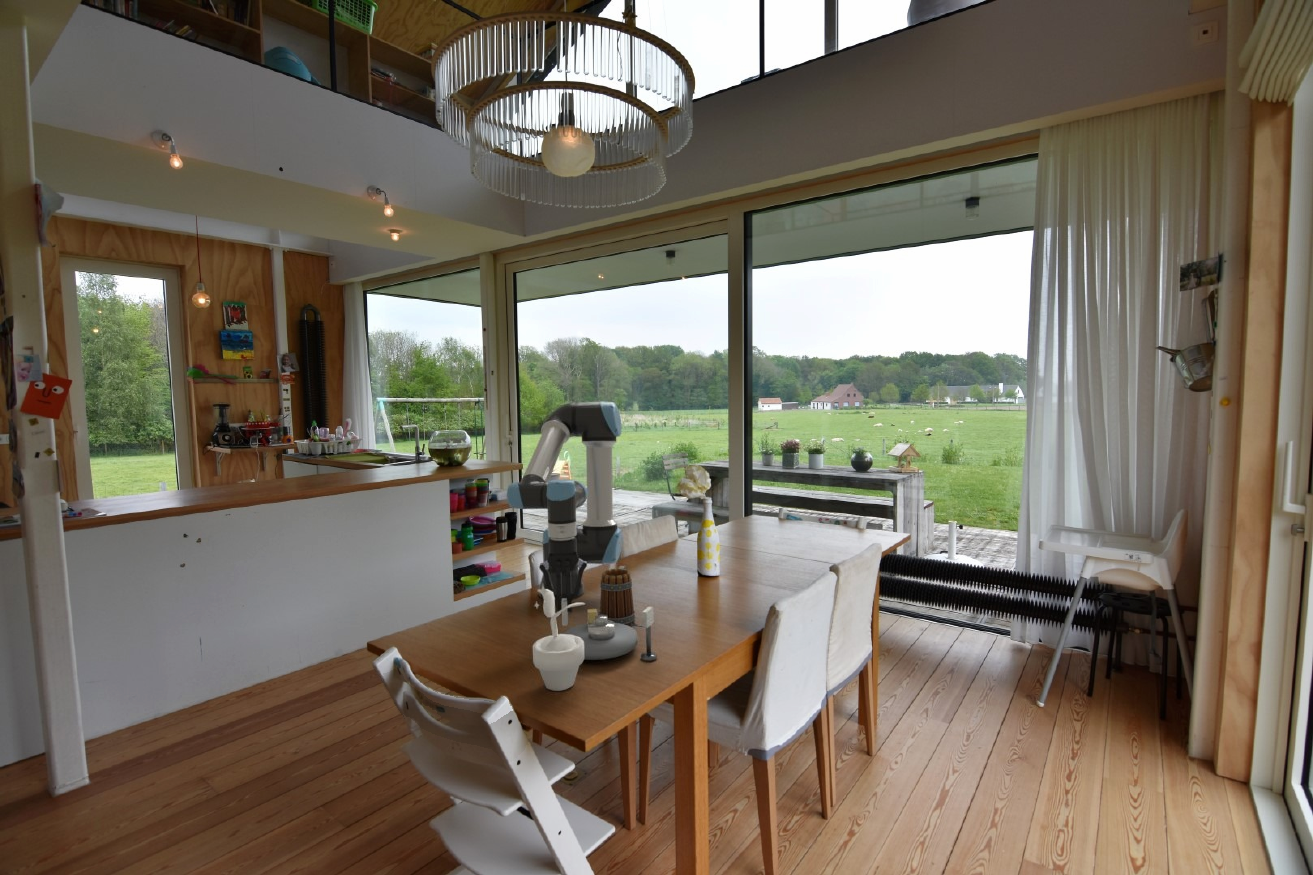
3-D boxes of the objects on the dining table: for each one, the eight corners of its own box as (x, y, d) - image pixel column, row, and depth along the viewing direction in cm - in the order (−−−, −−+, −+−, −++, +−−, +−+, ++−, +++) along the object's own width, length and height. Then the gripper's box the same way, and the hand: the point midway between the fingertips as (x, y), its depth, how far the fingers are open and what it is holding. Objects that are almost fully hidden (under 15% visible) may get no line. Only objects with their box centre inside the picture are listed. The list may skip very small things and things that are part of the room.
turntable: (555, 634, 166) (554, 612, 166) (627, 625, 172) (626, 604, 171) (565, 664, 147) (564, 640, 146) (646, 653, 152) (645, 629, 152)
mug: (630, 630, 173) (629, 578, 172) (594, 628, 175) (593, 576, 174) (642, 611, 188) (641, 563, 187) (609, 609, 190) (608, 562, 189)
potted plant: (523, 693, 137) (519, 583, 135) (550, 671, 147) (547, 569, 146) (573, 701, 132) (570, 588, 131) (597, 678, 143) (595, 573, 141)
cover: (586, 632, 162) (585, 613, 161) (612, 629, 164) (611, 610, 163) (590, 642, 155) (589, 622, 155) (617, 638, 157) (617, 619, 157)
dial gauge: (659, 656, 155) (658, 607, 154) (652, 662, 151) (651, 612, 150) (635, 652, 157) (634, 604, 157) (628, 658, 154) (627, 609, 153)
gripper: (536, 541, 159) (539, 630, 161) (586, 539, 161) (589, 627, 162) (539, 535, 167) (541, 620, 168) (587, 533, 168) (589, 617, 170)
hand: (565, 623), depth 165 cm, fingers closed
